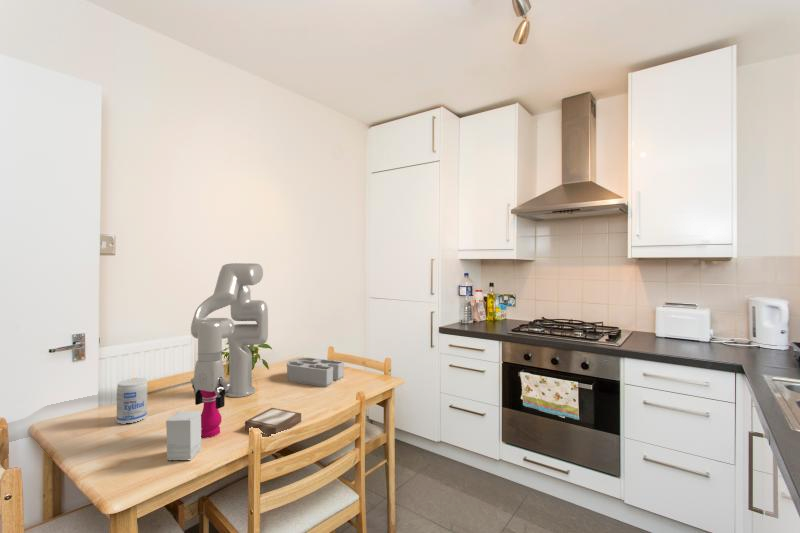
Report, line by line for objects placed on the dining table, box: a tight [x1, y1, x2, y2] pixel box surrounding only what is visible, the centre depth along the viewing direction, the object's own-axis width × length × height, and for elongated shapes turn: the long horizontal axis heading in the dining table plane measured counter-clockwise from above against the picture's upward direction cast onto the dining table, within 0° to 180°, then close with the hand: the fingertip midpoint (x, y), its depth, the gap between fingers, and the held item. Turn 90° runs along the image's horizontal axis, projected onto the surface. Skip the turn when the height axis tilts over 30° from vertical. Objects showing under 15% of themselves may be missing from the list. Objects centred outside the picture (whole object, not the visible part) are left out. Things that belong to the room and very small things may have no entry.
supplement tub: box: [116, 377, 148, 425], centre depth 147 cm, size 10×10×15 cm
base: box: [244, 407, 302, 436], centre depth 142 cm, size 14×14×3 cm
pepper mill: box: [201, 387, 223, 438], centre depth 135 cm, size 7×7×20 cm
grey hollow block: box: [286, 357, 345, 388], centre depth 198 cm, size 17×28×9 cm, turn 68°
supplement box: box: [165, 410, 202, 461], centre depth 121 cm, size 7×7×13 cm
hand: (209, 405), depth 135 cm, fingers open, 9 cm apart
